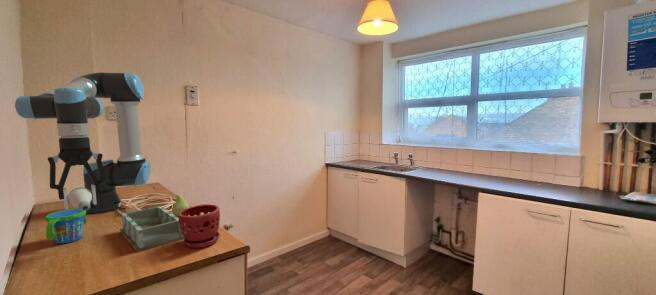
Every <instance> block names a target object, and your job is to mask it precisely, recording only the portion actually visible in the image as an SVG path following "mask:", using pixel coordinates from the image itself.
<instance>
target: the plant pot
mask: <svg viewBox="0 0 656 295" xmlns="http://www.w3.org/2000/svg"><path fill="white" fill-rule="evenodd" d="M202 213H203V214H202ZM220 213H221V212H220V207H219V206H218V205H217V204H216V205H215V204H199V205H193V206H189V208H186V209H184V210H182V211H180V212H179V214H178V216H177V217H178V218H179V225H180V229H181V232H182V234H183V236H184V237H185V239H183V244H184V245H185V246H186V247H189V248H198V249H199V248H205V247H208V246H210V245H212V244H215V243H216V242H217V241H218V240H219V238H220V237H221V234H220V232H219V229H220V220H221V214H220Z"/></svg>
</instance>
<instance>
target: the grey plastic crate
mask: <svg viewBox="0 0 656 295" xmlns="http://www.w3.org/2000/svg"><path fill="white" fill-rule="evenodd" d="M121 223H122V224H121V225H122V228H121V229H119V231H120V233H121V235H122V236H123V237H124V239H125V240H127V242H128V243H129V244H130V246H131V247H133V249H134V250H135V251H136V253H140V252H143V251H147V250H148V251H149V250H150V249H154V248H157V247H161V246H165V245H169V244H172V243H175V242H179V241H181V240H182V241H183V240H184V239H185V237H184V236H183V234H182V232H181V229H180V225H179V218H178V216H175V215H174V214H173V213H172V212H170V211H169V210H167V209H165V208H164V207H162V206H160V205H159V206H155V207H149V208H145V209H139V210H135V211H134V210H133V211H131V212H125V213H121Z"/></svg>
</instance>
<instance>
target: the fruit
mask: <svg viewBox="0 0 656 295" xmlns="http://www.w3.org/2000/svg"><path fill="white" fill-rule="evenodd" d="M169 193H170V194H173V195H175V196H176V200H175V203H174V204H173V206H172V207H171V213H172V214H173V215H175V216H176V217H178V214H179V212H180V211H182V210H184V209H186V208H189V207H190V204H189V203H188V202H187V201H186V199H185V198H184V197H183V196H182V195H181V194H179V193H175V192H172V191H170V190H169Z"/></svg>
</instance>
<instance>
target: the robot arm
mask: <svg viewBox="0 0 656 295" xmlns="http://www.w3.org/2000/svg"><path fill="white" fill-rule="evenodd" d="M144 97H145V90H144V85H143V82H142V80H141V78H140V77H139V75H137V74H135V73H128V72H127V73H126V72H103V71H102V72H92V73H91V72H90V73H88V74H87V73H86V74H85V75H81V76H78V77H75V78H73V79H71V81H70V83H67V84H64V85H61V86H59V87H57V88H54V89H52V90H49V91H46V92H44V93H41V94H39V95H22V96H19V97H17V98H16V100H15V103H14V108H15V112H16V113H17V115H18V116H19V117H21V118H23V119H34V120H37V119H56V126H57V136H58V137H60V138H59V139H58V145H59V152H58V154H57V155H54V156H48V157H47V161H48V163H49V188H50V189H51V190H57V193H58V199H59V200H63V206H64V210H69V203H68V199H67V196H68V190H67V188H66V187H64V186H65V184H66V182H67V179H68V176H69V173H70V170H71V168H72V167H74V166H75V167H76V166H83V168H82V169H83V173H82V175H83V183H84V188H87V189H89V190H90V191H91V192H92V196H93V199H92V201H91V202H90V209H88V210H87V211H86V214H100V213H107V212H111V211H115V210H116V209H119V208H118V204H119V203H120V202H121V203H122V200H121V198H120V196H119V194H118V193H117V187H126V186H127V187H131V186H132V187H133V186H142V185H146V184H147V183H148V181H149V178H150V175H151V163H150V161H148V160H146V156H144V155H143V154H142V149H141V148H142V147H141V146H142V145H141V137H140V136H141V135H140V125H139V112H138V105H140V103H141V100H142V99H143V98H144ZM99 99H110V103H111V104H112V105H114V108H115V116H116V128H117V136H118V146H119V147H118V148H119V156H118V157H117V159H116V162H115V161H114V159H105V160H102V159H103V154H102V153H100V152H98V153H96V152H93V151H92V149H91V141H90V137H88V136H89V135H90V132H89V124H88V123H89V122H88V121H89V120H88V119H95V118H99V117H101V116H102V114H103V113H104V111H105V108H104V105H103V103H102V101H100V100H99ZM92 157H93V159H94V160H95V162H88V161H90V159H91V158H92ZM59 159H60V160H61V161H62V162H63V163H64V167H63V171H62V174H61V176H60V179H59V181H58V184H56V175H57V174H56V172H57V171H56V169H57V168H56V164H57V163H58V160H59Z"/></svg>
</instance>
